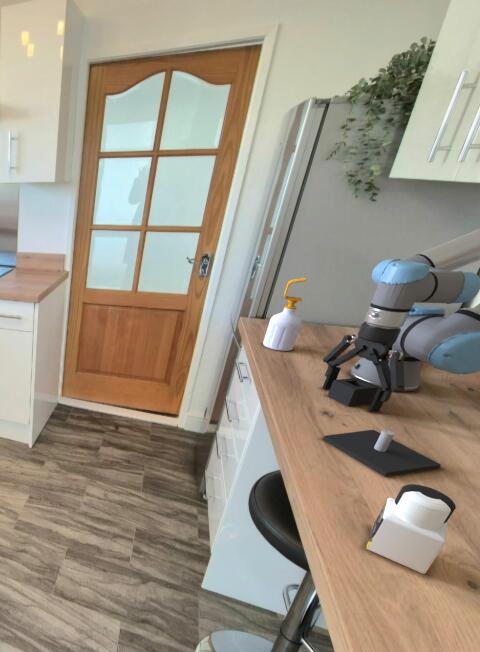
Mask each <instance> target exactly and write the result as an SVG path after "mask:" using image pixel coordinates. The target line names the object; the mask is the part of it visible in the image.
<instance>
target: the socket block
mask: <svg viewBox="0 0 480 652" xmlns="http://www.w3.org/2000/svg"><path fill="white" fill-rule="evenodd" d="M378 388H380V387H379V386H376V385H374V384H372V383H369V382H367V381H365V380H362V379H360V378H353V377H350V378H340V379H336V380H334V381H333V383H332V386H331V388H330V389H329V390H328V393H327V397H328V398H331V399H332V400H335V401H337V402H339V403H340V404H343V405H345V406H347V407H353V406H360V405H361V406H362V405H371V403H372V401H373V399H374V397H375V395H376V392H377V390H378Z"/></svg>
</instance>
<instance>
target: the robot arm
mask: <svg viewBox="0 0 480 652" xmlns="http://www.w3.org/2000/svg"><path fill="white" fill-rule="evenodd" d="M479 261H480V228H477V229H475V230H473V231H470V232H468V233H465V234H463V235H460V236H458V237H456V238H454V239H451V240H449V241H446V242H443V243H441V244H439V245H436V246H433V247H431V248H429V249H426V250H424V251H421V252H419V253H416V254H414V255H412V256H408V257H407V258H404V259H400V258H387V259H384V260H382V261H381V262H379V263H378V264H377V265H376V266H375V267H374V269H373V270H372V273H371V279H372V282H373V283H374V284H376V285H377V287H376V289H375V291H374V294H373V297H372V299H371V302H370V305H369V307H368V309H367V311H366V314H365V315H364V319H363V322H362V324H361V326H360V327H359V330H358V332H357V336H356V334H354V333H353V334H344V335H343V337H342V340H341V341H340V342H339V343H338V344H337V345H336V346H334V348H333V349H332V350H331V351H330V352H329V353H327V355H326V356H324V357H323V359H322V362H323V363H326V364H327V369H326V371H325V374H324V376H325V381H324V383H323V385H322V389H323V390H330V388H331V386H332V383H333V381H334V380H338V376H339V374H340V372H341V369H342V367H341V365H343V364H344V363H346V362H348V361H350V360H352V359H354V358H356V357H359V360H358V361H357V362H355V364H353V366H352V367H351V369H350V371H349V375H350V376H351V378H360V379H362V380H365V381H367V382H369V383H372V384H374V385H376V386H379V387H380V388H378V390H377V392H376V395H375V397H374V399H373V401H372V403H371V404H369V408H368V412H369V413H373V412H374V413H375V412H380V411H381V409H382V406H383V405H384V403H386V402H388V401H389V400H390V398H391V396H392V394H393V392H403V393H405V392H406V393H408V392H414V391H416V390H417V389H418V387H419V385H420V383H421V364H422V363H421V362H423V363H426V364H428V365H430V366H432V368H434V369H437V370H440V371H444V372H446V373H449V374H454V375H470V374H471V375H472V374H475V373H476V374H477V373H479V372H480V303H478V304H477V305H475V306H474V307H464V308H463V307H462V308H459V309H457V310H456V311H455V312H453V313H452V314H451V315H449V316H447V317H445V316H446V309H445V308H444V307H438V306H432V305H423V304H446V305H451V304H452V305H453V304H463V303H467V302H469V301H472V300H473V299H474V298H475V297H476V296H477V295H478V294H479V292H480V276H479V275H478V274H477V273H474V272H471V271H462V270H458V269H461V268H463V267H466V266H468V265H472V264H473V263H476V262H479ZM456 270H457V271H456ZM417 303H421V304H417ZM352 344H354V348H352V349H350V350H349V351H347V352H346V353H344V352H345V351H346V350H347V349H348V348H349V347H351V346H352ZM343 353H344V354H343Z"/></svg>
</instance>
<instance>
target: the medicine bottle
mask: <svg viewBox="0 0 480 652" xmlns="http://www.w3.org/2000/svg"><path fill="white" fill-rule="evenodd" d="M456 508H457V506H456V504H455V502H454V501H453V499H452V498H451V497H449V496H448V495H446V494H445V493H443V492H441V491H439V490H437V489H435V488H432V487H429V486H426V485H422V484H416V483H410V484H404V485H403V486H401V488H400V490H399V492H398V494H397V495H396V497H395V498H393V497H388V498H387V499H386V501H385V503H384V505H383V507H382V508H381V510H380V512H379V514H378V516H377V518H376V519H375V521H374V523H373V524H372V527H371V530H370V534H369V537H368V540H367V544H366V549H367V550H368V551H370V552H372V553H375V554H377V555H379V556H382V557H383V558H386V559H388V560H390V561H392V562H395V563H396V564H400V565H401V566H404V567H407V568H409V569H411V570H412V571H415V572H418V573H420V574H422V575H423V574H424V575H425V574H426V573H427V572H428V570H429V569H430V568H431V566H432V565H433V563H434V562H435V560H436V558H437V556H438V555H439V554H440V552H441V550H442V549H443V547H444V546H445V544H446V543H447V532H448V522H449V519H450V518H451V516H452V515H453V513H454V512H455V511H456Z"/></svg>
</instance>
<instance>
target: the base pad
mask: <svg viewBox="0 0 480 652" xmlns="http://www.w3.org/2000/svg"><path fill="white" fill-rule="evenodd" d="M394 436H395V433H394V432H393V431H392V430H391V431H390V430H387V429H383V430H382V431H381V432H379V431H377V430H375V429H368V430H359V431H352V432H344V433H343V432H342V433H336V434H328V435H324V436H323V438H322V440H323V441H325V442H327V443H328V444H330V445H331V446H333V447H335V448H336V449H338V450H340V451H341V452H342V453H343V452H344V453H345V454H347V455H348V456H350V457H352V458H353V459H355V460H356V461H358V462H360V463H362V464H363V465H365V466H366V467H368V468H370V469H372V470H373V471H375V472H376V473H378V474H380V475H382V476H383V477H392V476H398V475H405V474H410V473H417V472H424V471H430V470H437V469H440V468H441V466H442V464H441V463H439V462H437V461H435V460H433V459H431V458H430V457H427V456H426V455H424V454H421V453H420V452H418V451H416V450H415V449H412V448H410V447H408V446H407V445H404V444H402V443H400V442H398V441H396V440H394V439H393V438H394Z"/></svg>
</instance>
